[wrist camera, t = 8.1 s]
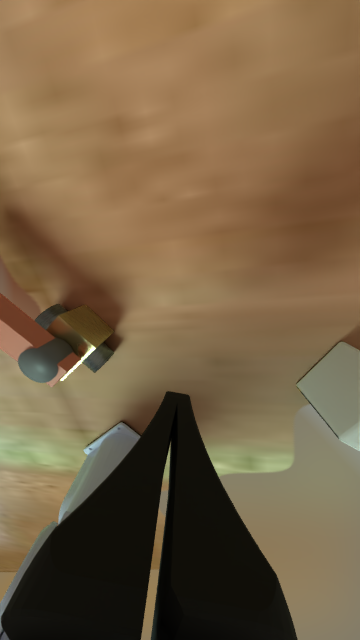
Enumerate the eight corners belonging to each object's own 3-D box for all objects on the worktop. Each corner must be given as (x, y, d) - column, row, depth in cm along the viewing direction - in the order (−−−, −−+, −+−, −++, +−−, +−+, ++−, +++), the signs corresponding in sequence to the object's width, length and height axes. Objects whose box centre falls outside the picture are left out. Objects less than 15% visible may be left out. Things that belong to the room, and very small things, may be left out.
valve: (96, 368, 23) (75, 392, 19) (45, 325, 21) (10, 341, 17) (125, 341, 21) (109, 360, 17) (72, 292, 19) (41, 301, 15)
